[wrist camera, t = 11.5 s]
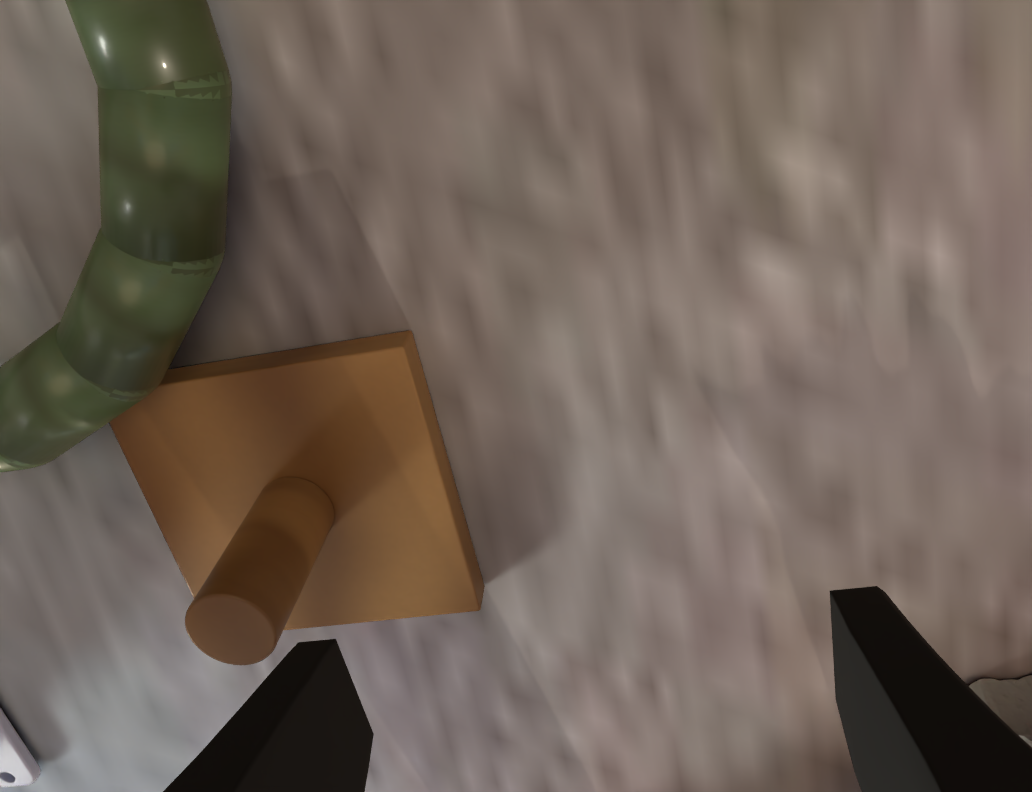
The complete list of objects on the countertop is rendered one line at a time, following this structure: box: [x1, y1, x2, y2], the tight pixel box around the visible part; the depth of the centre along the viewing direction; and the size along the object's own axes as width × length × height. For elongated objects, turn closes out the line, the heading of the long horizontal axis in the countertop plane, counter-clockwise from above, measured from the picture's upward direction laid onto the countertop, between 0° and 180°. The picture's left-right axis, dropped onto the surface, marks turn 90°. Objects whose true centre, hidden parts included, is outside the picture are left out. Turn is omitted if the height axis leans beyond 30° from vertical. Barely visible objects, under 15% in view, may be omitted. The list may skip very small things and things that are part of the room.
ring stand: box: [109, 331, 485, 665], centre depth 20 cm, size 8×8×6 cm
